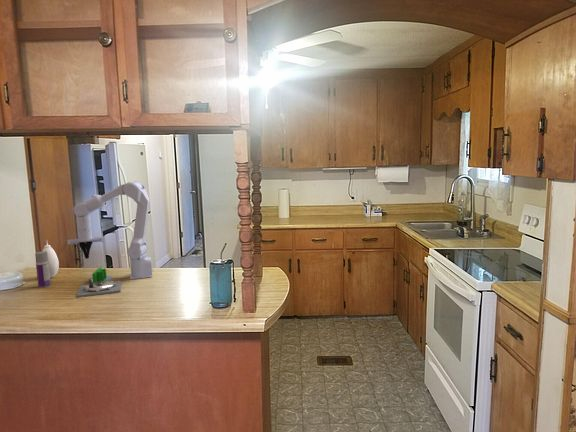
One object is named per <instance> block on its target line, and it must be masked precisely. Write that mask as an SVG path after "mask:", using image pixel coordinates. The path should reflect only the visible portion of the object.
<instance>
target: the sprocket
mask: <svg viewBox="0 0 576 432" xmlns="http://www.w3.org/2000/svg"><path fill="white" fill-rule="evenodd" d="M113 281H114V280H111V281H100V282H94V283H93V278H89V279H88V285H87V284H85V285H86V286H83V289H86V291H87V292H88V291H96V292H99V291H102V290H107V289H111V288H112V287H114V286H116V283H114V282H113Z"/></svg>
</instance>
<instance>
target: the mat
mask: <svg viewBox="0 0 576 432" xmlns="http://www.w3.org/2000/svg"><path fill="white" fill-rule="evenodd" d="M106 276H107V278H106V279H104V281H112V275H106Z"/></svg>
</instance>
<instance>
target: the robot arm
mask: <svg viewBox="0 0 576 432" xmlns="http://www.w3.org/2000/svg"><path fill="white" fill-rule="evenodd" d="M118 196H127V197H129V198H131V199H132V200H133V201H134V202H135V203H136V210H135V211H136V212H135V213H136V214H135V218H134V219H135V220H134V227H133V237H132V239H131V241H130V246H129V247H128V249H127V255H128V257H129V265H130V274H129V275H130V277H129V278H130V280H136V279H144V278H146V279H147V278H153V268H152V258H151V256H147V254H146V253H147V252H148V246H147V239H146V233H147V225H148V219H149V218H148V217H149V209H150V203H151V202H150V197H149V195H148V193H147V190H146V186H145V185H144V184H142V182H141V181H132V182H131V181H130V182H129V181H128V182H126V183H124V184H121V185H118V186H116V187H115V188H113V189H111V190H109V191H108V192H106V193H104V194H102V195H101V194H93V195H91V197H90V198H88V199H85V200H82V203H80V202H79V203H77V204H75V205H74V206H73V209H72V210H73V213H74V215H75V216H76V227H77V237H78V238H71V239H67V245H75V244H78V247H80V249H81V251H82V253H83V255H84V258H85V260H88V259H89V258H90V251H91V248H92V245H93V243H98V242H104V237H103V236H93V231H92V230H93V229H92V221H91V220H92V219H91V214H92V212H94V211H97V210H99V209H101V208H102V207H104V206H105V205H106V202H108V201H110V200H112V199H114V198H117V197H118Z"/></svg>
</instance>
